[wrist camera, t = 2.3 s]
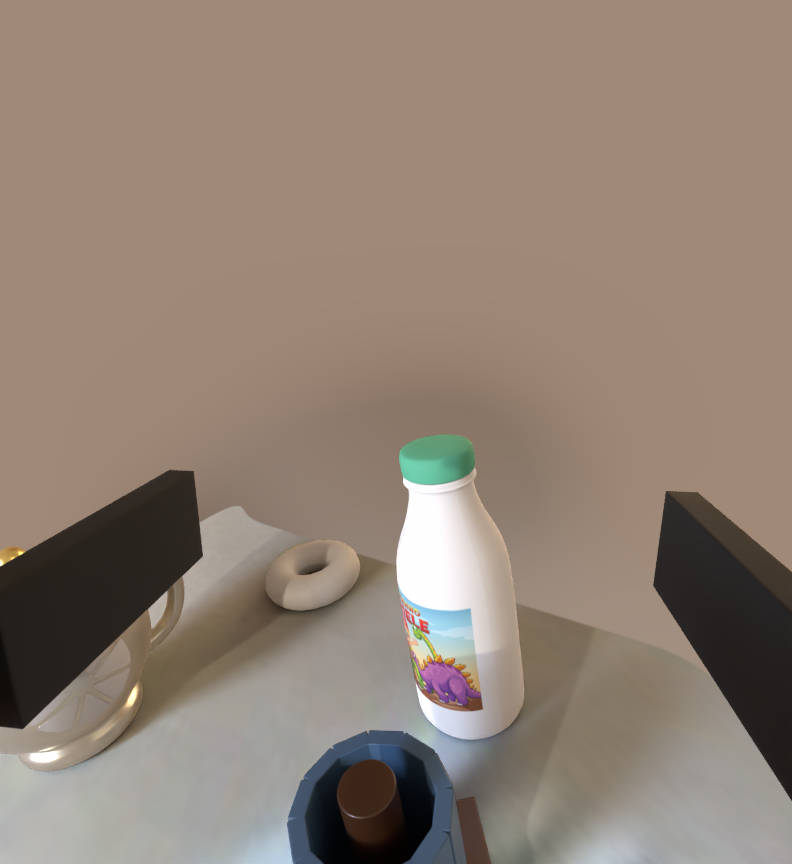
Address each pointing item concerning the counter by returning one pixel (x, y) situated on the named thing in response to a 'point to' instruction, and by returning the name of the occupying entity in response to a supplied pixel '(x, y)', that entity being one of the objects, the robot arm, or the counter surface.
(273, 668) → the counter surface
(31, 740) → the teapot
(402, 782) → the ring sleeve
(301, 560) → the donut
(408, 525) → the milk bottle
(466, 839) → the post stand
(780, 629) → the robot arm
